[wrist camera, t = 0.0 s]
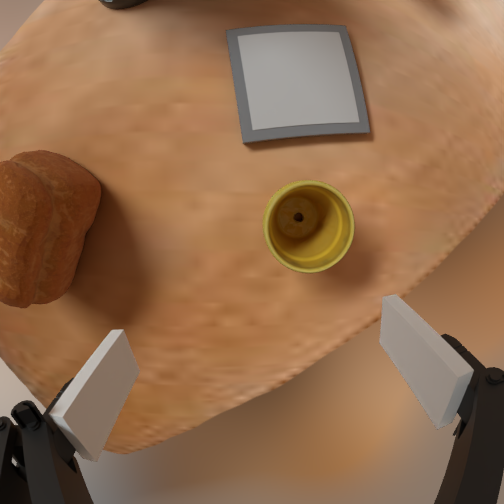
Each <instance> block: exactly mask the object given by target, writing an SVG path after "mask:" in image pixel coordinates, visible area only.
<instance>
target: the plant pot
mask: <svg viewBox="0 0 504 504" xmlns="http://www.w3.org/2000/svg"><path fill="white" fill-rule="evenodd" d="M296 213H301V214H302V216H303V218H302V220H301V221H296V220H295V219H294V216H295V214H296ZM354 230H355V222H354V216H353V212H352V209H351V207H350V205H349V203H348V201H347V200H346V198H345V197H344V196H343V195H342V194H341V193H340V192H339V191H338V190H337V189H335V188H334V187H332V186H331V185H329V184H326V183H323V182H320V181H314V180H302V181H296V182H293V183H290V184H288V185H286V186H284V187H282V188H281V189H279V190H278V191H277V192H276V193H275V194H274V195H273V196H272V198H271V199H270V200H269V202H268V204H267V206H266V209H265V211H264V215H263V233H264V238H265V241H266V244H267V246H268V248H269V250H270V252H271V253H272V255H273V256H274V257H275V258H276V259H277V260H278V261H279V262H280V263H281V264H282V265H284V266H285V267H287V268H289V269H291V270H294V271H297V272H301V273H316V272H321V271H324V270H326V269H328V268H330V267H332V266H333V265H335V264H336V263H338V262H339V261H340V260H341V259H342V258H343V257H344V255H345V254H346V253H347V251H348V249H349V248H350V246H351V243H352V240H353V237H354Z"/></svg>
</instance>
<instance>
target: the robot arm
mask: <svg viewBox="0 0 504 504" xmlns="http://www.w3.org/2000/svg"><path fill="white" fill-rule="evenodd" d="M99 1H100V2H101V3H102V4H103V5H104V6H106V7H108V8H112V9H122V8H128V7H132V6H135V5H138V4H140V3H143V2H145V1H147V0H99ZM379 343H380V344H381V346H382V347H383V348H384V350H385V352H386V353H387V354H388V356H389V357H390V358H391V360H392V362H393V363H394V364H395V366H396V367H397V369H398V370H399V372H400V373H401V375H402V376H403V378H404V379H405V381H406V382H407V384H408V385H409V387H410V388H411V390H412V391H413V393H414V394H415V396H416V398H417V399H418V401H419V402H420V404H421V405H422V407H423V408H424V410H425V412H426V413H427V415H428V416H429V418H430V419H431V421H432V423H433V424H434V426H435V427H436V429H439V428H442V427H444V426H446V425H448V424H450V423H452V422H453V420H454V417H455V416H456V414H457V413H458V414H459V416H460V417H461V420H460V422H459V424H458V426H457V428H456V430H455V431H454V433H453V435H454V436H455V435H456V438H455V442H454V446H453V449H452V453H451V457H450V460H449V463H448V466H447V470H446V473H445V476H444V479H443V482H442V484H441V487H440V490H439V493H438V495H437V498H436V500H435V503H434V504H496V503H497V499H498V495H499V490H500V486H501V481H502V476H503V470H504V371H502V370H501V369H499V368H495V367H493V368H487V369H486V368H485V367H484V366H483V365H482V364H481V363H480V362H479V361H478V360H477V359H476V358H475V357H474V356H473V355H472V354H471V353H470V352H469V351H467V349H466V348H465V347H464V346H462V344H461V343H460V342H459V341H458V340H457V339H455V338H454V337H452V336H449V335H447V334H444V335H441V336H440V335H439V334H438V333H437V332H436V331H435V330H434V329H433V328H432V327H431V326H430V325H429V324H428V323H426V322H425V321H424V320H423V319H422V318H421V317H420V316H419V315H418V314H417V313H416V312H415V311H414V310H413V309H412V308H410V307H409V306H408V305H407V304H406V303H405V302H404V301H403V300H402V299H401V298H400V297H398V296H397V295H396V294H394V295H389V296H385V297H383V300H382V317H381V331H380V342H379ZM139 372H140V370H139V367H138V365H137V363H136V360H135V358H134V355H133V353H132V350H131V348H130V345H129V342H128V340H127V337H126V334H125V332H124V329H123V330H111V332H110V333H109V334H108V335H107V337H106V338H105V339H104V340H103V342H102V343H101V344H100V345H99V347H98V348H97V349H96V350H95V352H94V353H93V354H92V356H91V357H90V358H89V359H88V361H87V362H86V363H85V365H84V366H83V367H82V369H81V370H80V371H79V373H78V374H77V375H76V377H75V378H72V379H71V380H70V381H68V382H67V383H66V384H65V385H64V386H63V388H62V389H61V390H60V392H59V393H58V394H57V396H56V398H54V400H53V401H52V403H51V404H50V405H49V407H48V408H47V410H46V411H45V413H44V414H43V415H42V414H41V413H40V411H39V410H38V408H37V407H36V405H35V404H34V403H33V402H32V401H28V400H26V401H22V402H20V403H18V404H17V405H16V406H14V408H13V409H12V411H11V415H12V417H13V418H14V420H15V421H16V422H17V424H18V425H14V424H13V423H12V421H11V420H10V419H9V418H8V417H4V416H3V417H0V504H94V503H93V501H92V499H91V496H90V494H89V492H88V489H87V487H86V484H85V481H84V479H83V476H82V473H81V471H80V468H79V465H78V462H77V460H76V458H75V457H74V456H73V455H74V453H75V451H77V452H78V453H79V454H80V456H81V457H82V458H83V459H87V460H91V461H95V462H97V461H98V458H99V456H100V454H101V452H102V450H103V447H104V445H105V443H106V441H107V439H108V436H109V434H110V432H111V430H112V428H113V426H114V424H115V421H116V419H117V417H118V415H119V413H120V411H121V409H122V407H123V405H124V403H125V401H126V399H127V396H128V394H129V392H130V390H131V388H132V386H133V384H134V382H135V380H136V378H137V376H138V374H139ZM12 457H13V458H14V459H15V461H16V462H17V465H16V466H15V465H14V464H13V463H12Z"/></svg>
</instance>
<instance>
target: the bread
mask: <svg viewBox="0 0 504 504" xmlns="http://www.w3.org/2000/svg"><path fill="white" fill-rule="evenodd" d="M101 194H102V193H101V185H100V183H99V181H98V180H97V179H96V178H95V177H94V176H92V175H91V173H90V172H89V171H87V170H86V169H84V168H83V167H81V166H79V165H78V164H76V163H75V162H73V161H72V160H70V159H69V158H67V157H65V156H63V155H60V154H56V153H52V152H49V151H45V150H38V151H32V152H23V153H19V154H17V155H16V156H14V157H13V158H11V159H10V160H9V161H3V162H0V301H1V302H3V303H4V304H7V305H9V306H14V307H19V308H27V307H28V306H30V305H31V304H47V303H50V302H52V301H54V300H57V299H58V298H60V297H61V296H62V295H63V294H64V293H66V291H67V290H68V289H69V287H70V285H71V283H72V281H73V278H74V276H75V270H76V267H77V264H78V261H79V258H80V255H81V253H82V249H83V245H84V239H85V234H86V233H87V231H88V230H89V228H90V227H91V225H92V224H93V222H94V219H95V215H96V212H97V209H98V206H99V203H100V199H101Z"/></svg>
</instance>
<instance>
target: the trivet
mask: <svg viewBox="0 0 504 504" xmlns="http://www.w3.org/2000/svg"><path fill="white" fill-rule="evenodd" d="M226 35H227V42H228V48H229V54H230V61H231V67H232V74H233V80H234V87H235V93H236V100H237V106H238V113H239V119H240V126H241V133H242V139H243V144H246V143H254V142H261V141H269V140H278V139H288V138H298V137H310V136H324V135H341V134H367V133H370V128H369V122H368V116H367V111H366V105H365V100H364V95H363V90H362V86H361V81H360V77H359V73H358V68H357V64H356V60H355V57H354V53H353V49H352V46H351V42H350V39H349V35H348V32H347V29H346V26H343V25H323V24H289V25H269V26H257V27H247V28H238V29H231V30H226Z"/></svg>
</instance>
